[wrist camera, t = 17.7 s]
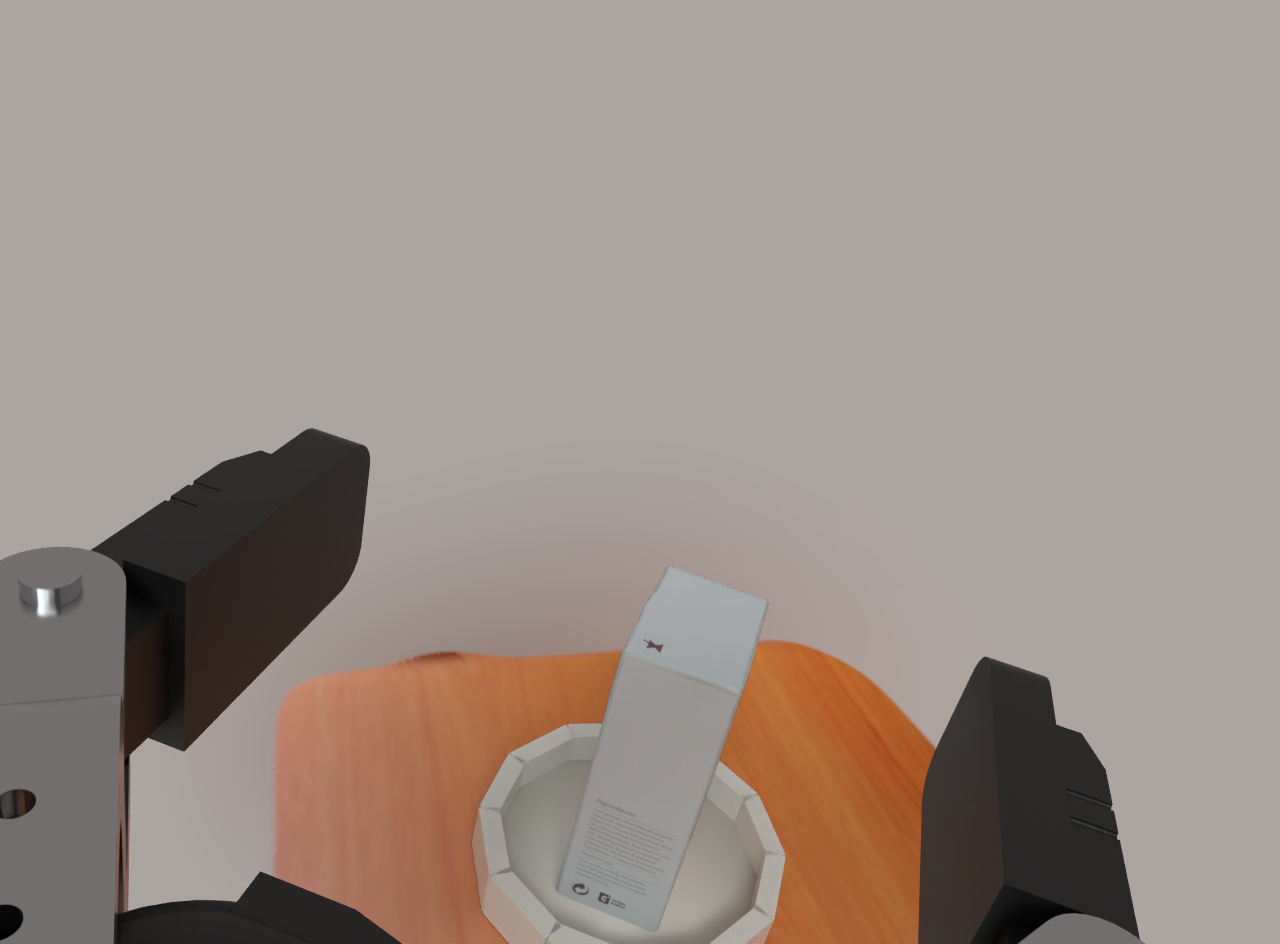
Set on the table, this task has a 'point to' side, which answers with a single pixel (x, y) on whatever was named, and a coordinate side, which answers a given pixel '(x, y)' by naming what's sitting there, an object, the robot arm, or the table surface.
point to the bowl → (540, 832)
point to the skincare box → (660, 745)
